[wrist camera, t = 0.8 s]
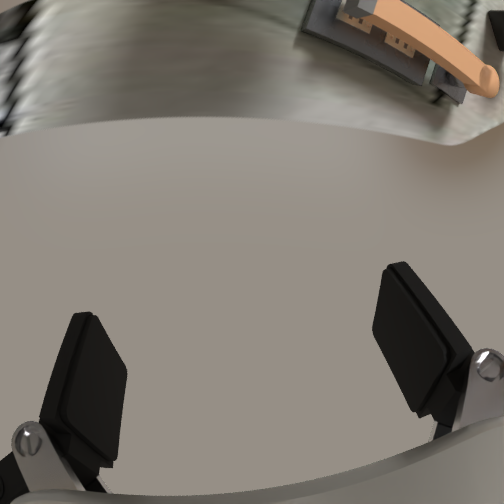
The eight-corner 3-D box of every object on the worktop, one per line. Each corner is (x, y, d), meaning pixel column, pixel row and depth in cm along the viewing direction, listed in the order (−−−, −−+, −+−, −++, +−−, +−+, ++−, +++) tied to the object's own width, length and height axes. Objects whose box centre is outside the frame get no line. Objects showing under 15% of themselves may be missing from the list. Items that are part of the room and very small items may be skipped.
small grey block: (441, 45, 28) (461, 45, 25) (470, 67, 30) (490, 70, 26) (429, 82, 31) (449, 86, 28) (459, 103, 33) (478, 109, 29)
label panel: (323, -33, 23) (331, -39, 21) (430, 26, 27) (441, 25, 25) (300, 30, 27) (307, 28, 25) (412, 84, 31) (422, 85, 29)
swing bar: (352, -16, 21) (367, -24, 18) (484, 73, 26) (503, 76, 24) (341, 14, 23) (356, 9, 20) (477, 99, 28) (495, 104, 25)
